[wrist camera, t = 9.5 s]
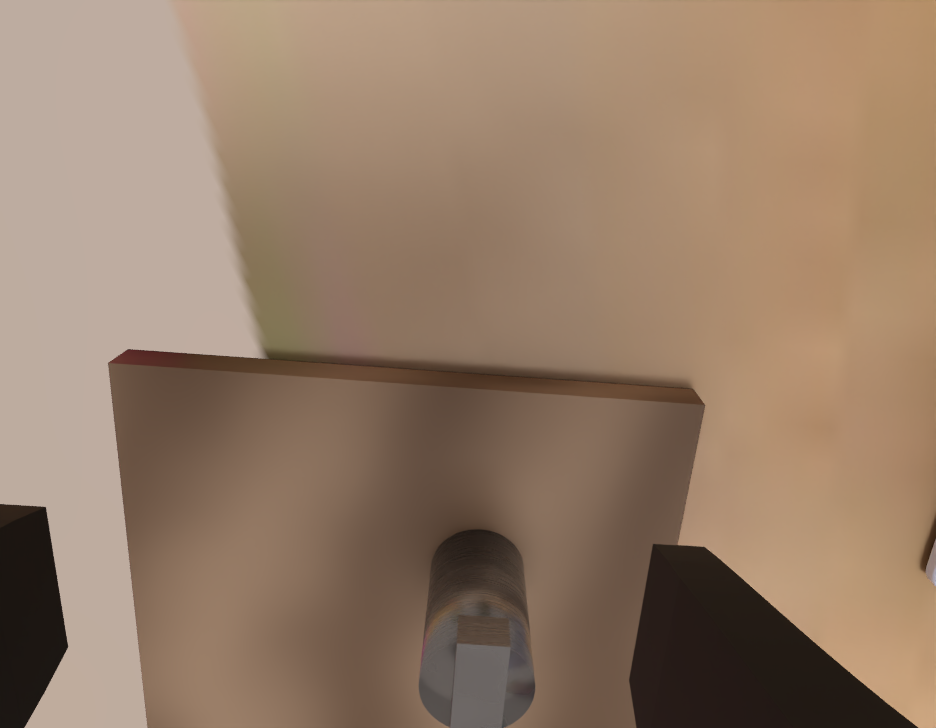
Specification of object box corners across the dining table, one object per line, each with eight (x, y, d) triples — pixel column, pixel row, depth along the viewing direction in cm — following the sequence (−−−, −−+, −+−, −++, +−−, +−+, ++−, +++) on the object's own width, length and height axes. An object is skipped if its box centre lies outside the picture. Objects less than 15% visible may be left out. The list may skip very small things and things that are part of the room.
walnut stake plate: (693, 388, 18) (705, 405, 17) (623, 752, 22) (630, 782, 21) (127, 349, 18) (108, 363, 17) (164, 722, 22) (150, 750, 21)
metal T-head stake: (530, 512, 18) (548, 649, 13) (517, 629, 19) (529, 791, 15) (434, 505, 18) (419, 641, 13) (427, 623, 19) (411, 783, 14)
